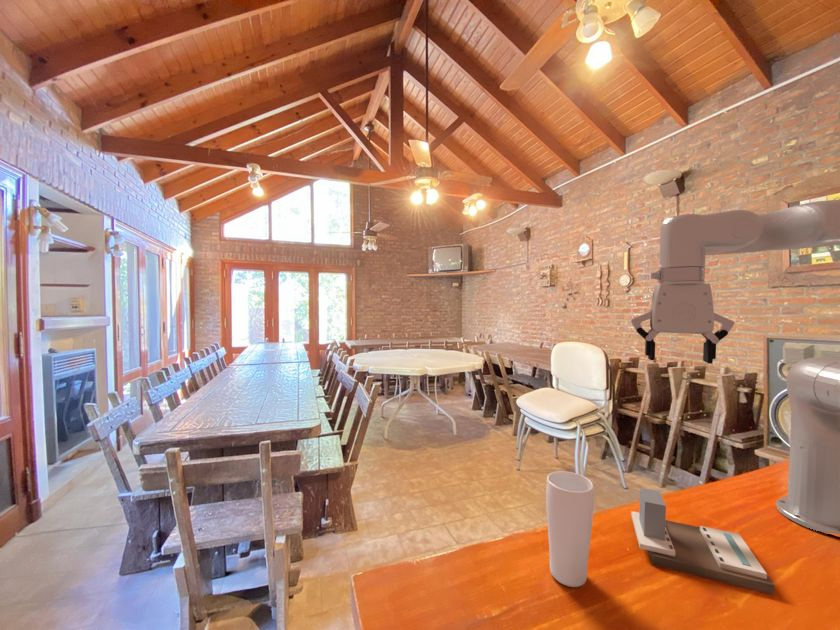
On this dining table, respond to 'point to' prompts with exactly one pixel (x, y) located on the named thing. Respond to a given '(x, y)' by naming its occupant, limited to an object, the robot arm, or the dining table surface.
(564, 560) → the drinking glass
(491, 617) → the dining table surface
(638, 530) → the stub
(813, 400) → the robot arm
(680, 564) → the board
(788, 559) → the dining table surface
